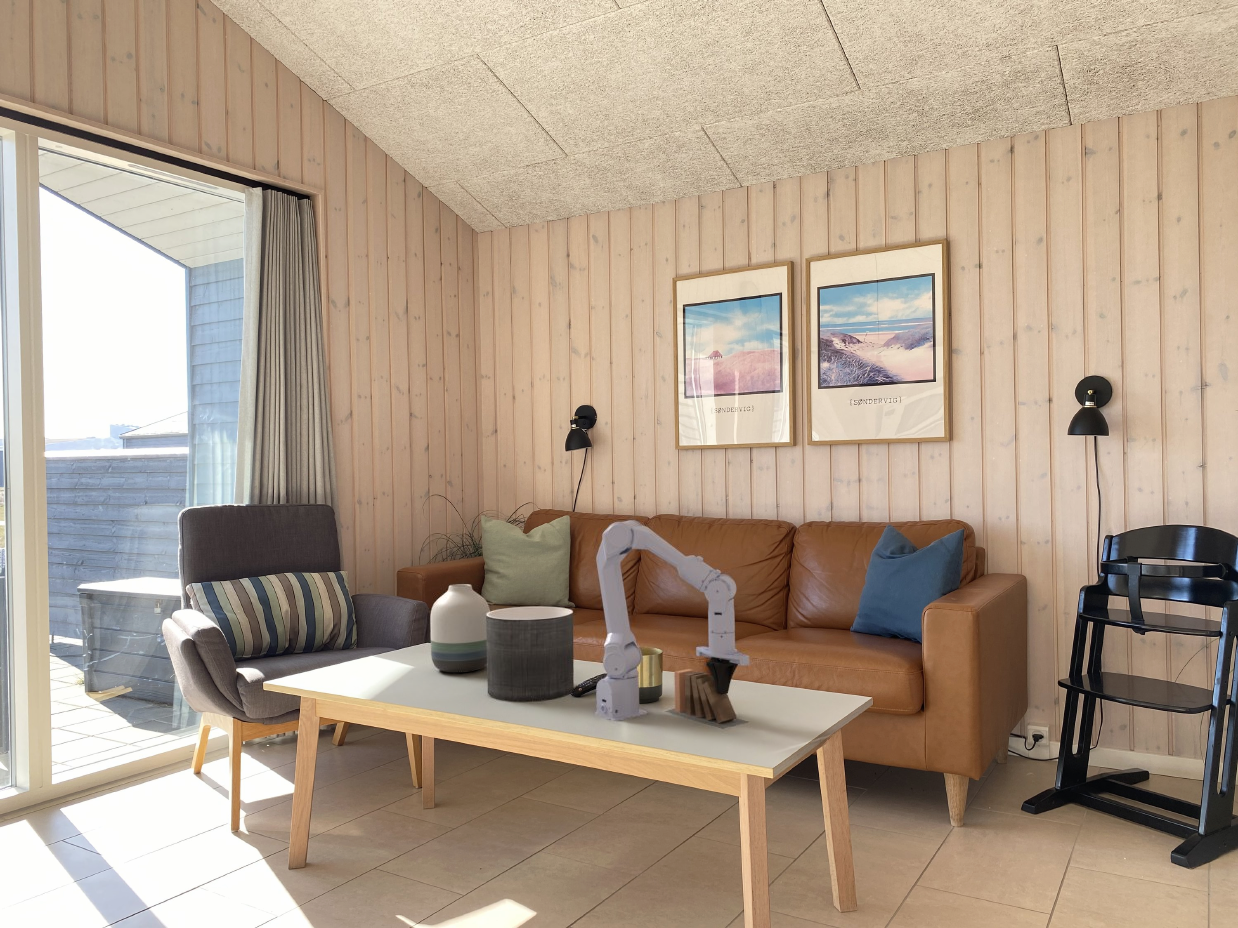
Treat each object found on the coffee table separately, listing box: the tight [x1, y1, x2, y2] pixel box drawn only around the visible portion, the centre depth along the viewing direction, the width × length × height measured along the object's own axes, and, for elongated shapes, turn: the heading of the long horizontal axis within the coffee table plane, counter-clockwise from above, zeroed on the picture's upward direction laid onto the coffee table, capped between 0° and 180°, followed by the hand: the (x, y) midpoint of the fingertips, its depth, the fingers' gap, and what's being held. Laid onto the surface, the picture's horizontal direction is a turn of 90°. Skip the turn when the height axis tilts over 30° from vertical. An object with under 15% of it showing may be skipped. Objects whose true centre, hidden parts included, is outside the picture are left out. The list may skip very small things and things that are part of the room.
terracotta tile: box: [673, 668, 694, 712], centre depth 203 cm, size 4×2×9 cm, turn 128°
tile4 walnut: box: [685, 670, 704, 716], centre depth 201 cm, size 4×2×9 cm, turn 128°
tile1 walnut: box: [703, 680, 737, 724], centre depth 194 cm, size 4×2×9 cm
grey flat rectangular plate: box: [664, 708, 750, 730], centre depth 198 cm, size 8×19×1 cm, turn 38°
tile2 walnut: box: [696, 675, 716, 720], centre depth 197 cm, size 4×2×9 cm, turn 128°
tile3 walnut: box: [691, 672, 711, 718], centre depth 199 cm, size 4×2×9 cm, turn 128°
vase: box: [430, 583, 491, 673], centre depth 253 cm, size 17×17×24 cm
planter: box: [486, 606, 575, 703], centre depth 226 cm, size 22×22×20 cm
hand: (722, 693), depth 194 cm, fingers closed
